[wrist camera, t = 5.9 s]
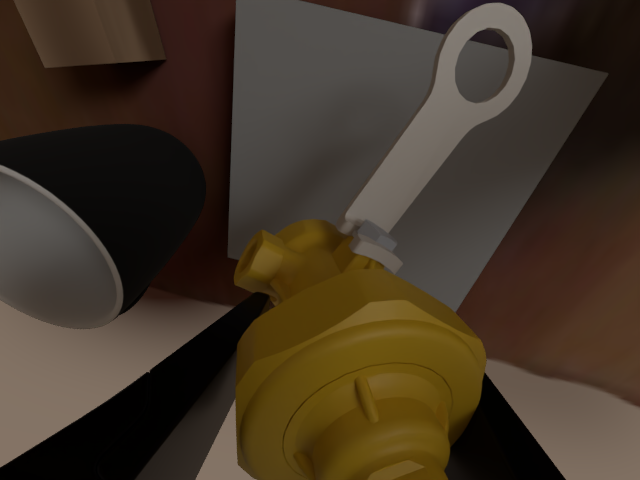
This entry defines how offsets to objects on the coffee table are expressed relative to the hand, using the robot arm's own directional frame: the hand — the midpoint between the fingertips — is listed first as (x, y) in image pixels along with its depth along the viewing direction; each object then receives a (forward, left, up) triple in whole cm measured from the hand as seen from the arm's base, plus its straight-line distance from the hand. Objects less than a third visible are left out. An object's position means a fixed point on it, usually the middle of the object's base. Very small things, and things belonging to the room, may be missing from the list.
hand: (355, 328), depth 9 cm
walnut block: (+16, -5, -13) cm, 21 cm away
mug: (+14, +5, -13) cm, 19 cm away
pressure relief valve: (+1, -2, -6) cm, 6 cm away
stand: (0, 0, -12) cm, 12 cm away
